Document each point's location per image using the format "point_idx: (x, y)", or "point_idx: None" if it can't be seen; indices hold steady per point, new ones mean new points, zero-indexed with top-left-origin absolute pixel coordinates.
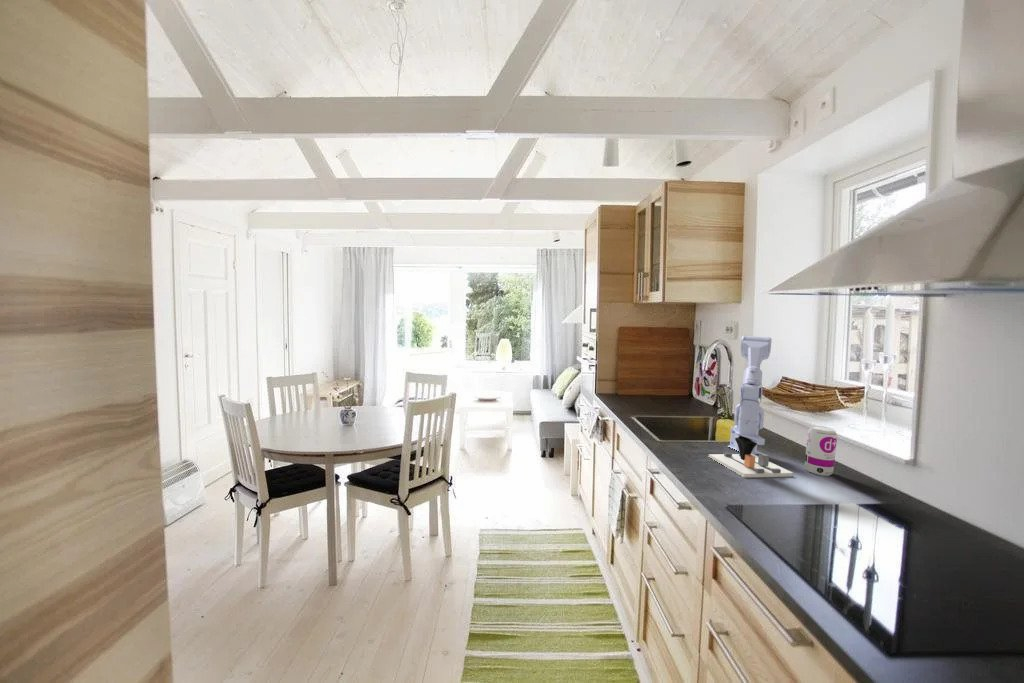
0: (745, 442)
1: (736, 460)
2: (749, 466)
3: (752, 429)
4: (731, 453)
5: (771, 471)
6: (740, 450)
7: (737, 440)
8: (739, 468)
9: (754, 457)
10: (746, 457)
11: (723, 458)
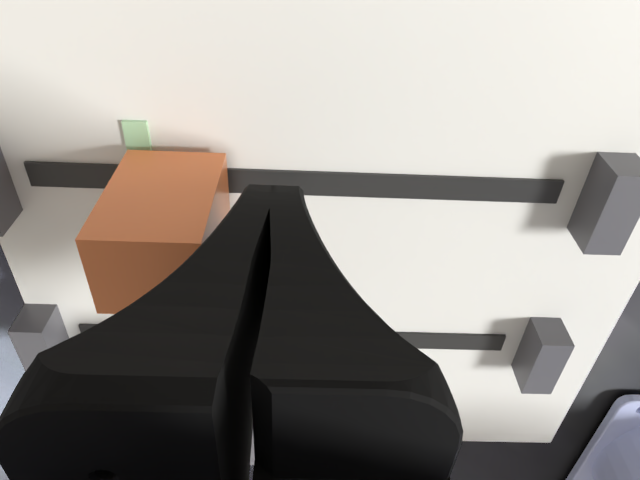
0: (10, 401)
1: (430, 189)
2: (122, 161)
3: None
4: (587, 247)
5: (76, 313)
6: (283, 248)
7: (327, 360)
8: (121, 5)
9: (97, 296)
10: (168, 219)
11: (559, 70)
